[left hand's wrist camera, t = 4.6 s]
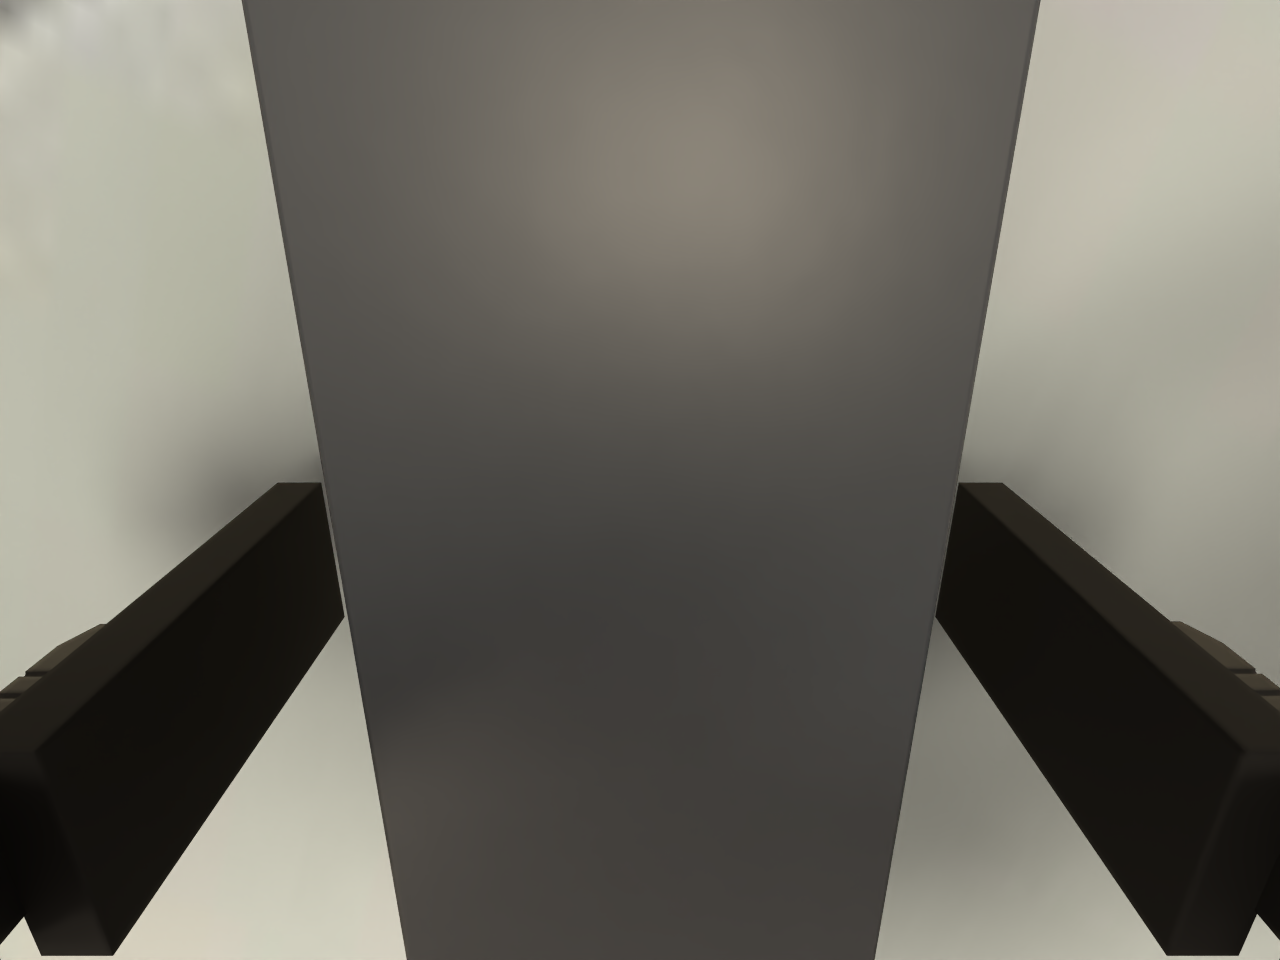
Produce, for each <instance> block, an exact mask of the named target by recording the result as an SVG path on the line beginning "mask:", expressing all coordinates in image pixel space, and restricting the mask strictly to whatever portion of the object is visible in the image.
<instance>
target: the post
mask: <svg viewBox="0 0 1280 960" xmlns="http://www.w3.org/2000/svg"><path fill="white" fill-rule="evenodd" d="M242 4H243V10H244V16H245V22H246V27H247V33H248V39H249V45H250V51H251V56H252V62H253V68H254V74H255V80H256V85H257V91H258V97H259V103H260V109H261V115H262V120H263V126H264V132H265V138H266V144H267V149H268V155H269V161H270V167H271V173H272V178H273V184H274V190H275V196H276V202H277V207H278V213H279V219H280V225H281V231H282V237H283V242H284V248H285V254H286V260H287V266H288V271H289V277H290V283H291V289H292V295H293V300H294V306H295V312H296V318H297V324H298V330H299V335H300V341H301V347H302V353H303V359H304V364H305V370H306V376H307V382H308V388H309V393H310V399H311V405H312V411H313V417H314V422H315V428H316V434H317V440H318V446H319V452H320V457H321V463H322V469H323V475H324V481H325V486H326V492H327V498H328V504H329V510H330V515H331V521H332V527H333V533H334V539H335V545H336V550H337V556H338V562H339V568H340V574H341V579H342V585H343V591H344V597H345V603H346V608H347V614H348V620H349V626H350V632H351V637H352V643H353V649H354V655H355V661H356V667H357V672H358V678H359V684H360V690H361V696H362V701H363V707H364V713H365V719H366V725H367V730H368V736H369V742H370V748H371V754H372V759H373V765H374V771H375V777H376V783H377V789H378V794H379V800H380V806H381V812H382V818H383V823H384V829H385V835H386V841H387V847H388V852H389V858H390V864H391V870H392V876H393V882H394V887H395V893H396V899H397V905H398V911H399V916H400V922H401V928H402V934H403V940H404V945H405V951H406V957H407V960H874V959H875V954H876V948H877V942H878V936H879V930H880V925H881V919H882V913H883V907H884V902H885V896H886V890H887V884H888V878H889V873H890V867H891V861H892V855H893V849H894V844H895V838H896V832H897V826H898V821H899V815H900V809H901V803H902V797H903V792H904V786H905V780H906V774H907V769H908V763H909V757H910V751H911V745H912V740H913V734H914V728H915V722H916V717H917V711H918V705H919V699H920V693H921V688H922V682H923V676H924V670H925V665H926V659H927V653H928V647H929V641H930V636H931V630H932V624H933V618H934V613H935V607H936V601H937V595H938V589H939V584H940V578H941V572H942V566H943V560H944V555H945V549H946V543H947V537H948V532H949V526H950V520H951V514H952V508H953V503H954V497H955V491H956V485H957V480H958V474H959V468H960V462H961V456H962V451H963V445H964V439H965V433H966V428H967V422H968V416H969V410H970V404H971V399H972V393H973V387H974V381H975V376H976V370H977V364H978V358H979V352H980V347H981V341H982V335H983V329H984V323H985V318H986V312H987V306H988V300H989V295H990V289H991V283H992V277H993V271H994V266H995V260H996V254H997V248H998V243H999V237H1000V231H1001V225H1002V219H1003V214H1004V208H1005V202H1006V196H1007V191H1008V185H1009V179H1010V173H1011V167H1012V162H1013V156H1014V150H1015V144H1016V139H1017V133H1018V127H1019V121H1020V115H1021V110H1022V104H1023V98H1024V92H1025V87H1026V81H1027V75H1028V69H1029V63H1030V58H1031V52H1032V46H1033V40H1034V34H1035V29H1036V23H1037V17H1038V11H1039V6H1040V0H242Z"/></svg>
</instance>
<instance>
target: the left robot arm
mask: <svg viewBox="0 0 1280 960" xmlns="http://www.w3.org/2000/svg"><path fill="white" fill-rule="evenodd" d="M344 617H345V616H344V611H343V605H342V599H341V593H340V588H339V582H338V576H337V571H336V565H335V559H334V553H333V548H332V542H331V536H330V530H329V525H328V519H327V513H326V508H325V502H324V496H323V490H322V485H321V483H277V484H276V485H275V486H273V487H272V488H271V489H270V490H268V491H267V492H266V493H265V494H264V495H262V496H261V497H260V498H259V499H258V500H256V501H255V502H254V503H253V504H251V505H250V506H249V507H248V508H247V509H245V510H244V511H243V512H242V513H241V514H239V515H238V516H237V517H236V518H234V519H233V520H232V521H231V522H230V523H228V524H227V525H226V526H225V527H224V528H222V529H221V530H220V531H219V532H217V533H216V534H215V535H214V536H213V537H211V538H210V539H209V540H208V541H207V542H205V543H204V544H203V545H202V546H201V547H199V548H198V549H197V550H196V551H194V552H193V553H192V554H191V555H190V556H188V557H187V558H186V559H185V560H184V561H182V562H181V563H180V564H179V565H177V566H176V567H175V568H174V569H173V570H171V571H170V572H169V573H168V574H167V575H165V576H164V577H163V578H162V579H160V580H159V581H158V582H157V583H156V584H154V585H153V586H152V587H151V588H150V589H148V590H147V591H146V592H145V593H143V594H142V595H141V596H140V597H139V598H137V599H136V600H135V601H134V602H133V603H131V604H130V605H129V606H128V607H126V608H125V609H124V610H123V611H122V612H120V613H119V614H118V615H117V616H116V617H114V618H113V619H112V620H111V621H110V622H108V623H107V624H100V625H98V626H96V627H94V628H92V629H90V630H88V631H86V632H84V633H82V634H80V635H78V636H76V637H74V638H72V639H70V640H68V641H66V642H64V643H63V644H61V645H59V646H57V647H56V648H55V649H53V650H52V651H51V652H50V653H48V654H47V655H46V656H45V657H43V658H42V659H41V660H39V661H38V662H37V663H36V664H34V665H33V666H32V667H31V668H29V669H28V670H27V671H26V674H25V676H24V677H18V678H17V679H16V680H14V681H13V682H12V683H10V684H9V685H8V686H7V687H5V688H4V689H3V690H2V691H0V944H1V943H2V942H3V941H4V940H5V938H6V937H7V936H8V935H9V934H10V932H11V931H12V930H13V929H14V928H15V927H16V925H17V924H18V923H19V922H20V921H21V919H22V918H23V917H25V920H26V922H27V924H28V926H29V929H30V931H31V933H32V936H33V938H34V940H35V942H36V945H37V947H38V949H39V951H40V954H41V956H113V955H114V954H115V952H116V951H117V949H118V948H119V946H120V945H121V943H122V942H123V940H124V939H125V938H126V936H127V935H128V933H129V932H130V930H131V929H132V927H133V926H134V924H135V923H136V921H137V920H138V918H139V917H140V916H141V914H142V913H143V911H144V910H145V908H146V907H147V905H148V904H149V902H150V901H151V899H152V898H153V897H154V895H155V894H156V892H157V891H158V889H159V888H160V886H161V885H162V883H163V882H164V880H165V879H166V877H167V876H168V875H169V873H170V872H171V870H172V869H173V867H174V866H175V864H176V863H177V861H178V860H179V858H180V857H181V856H182V854H183V853H184V851H185V850H186V848H187V847H188V845H189V844H190V842H191V841H192V839H193V838H194V836H195V835H196V834H197V832H198V831H199V829H200V828H201V826H202V825H203V823H204V822H205V820H206V819H207V817H208V816H209V815H210V813H211V812H212V810H213V809H214V807H215V806H216V804H217V803H218V801H219V800H220V798H221V797H222V796H223V794H224V793H225V791H226V790H227V788H228V787H229V785H230V784H231V782H232V781H233V779H234V778H235V776H236V775H237V774H238V772H239V771H240V769H241V768H242V766H243V765H244V763H245V762H246V760H247V759H248V757H249V756H250V755H251V753H252V752H253V750H254V749H255V747H256V746H257V744H258V743H259V741H260V740H261V738H262V737H263V735H264V734H265V733H266V731H267V730H268V728H269V727H270V725H271V724H272V722H273V721H274V719H275V718H276V716H277V715H278V714H279V712H280V711H281V709H282V708H283V706H284V705H285V703H286V702H287V700H288V699H289V697H290V696H291V694H292V693H293V692H294V690H295V689H296V687H297V686H298V684H299V683H300V681H301V680H302V678H303V677H304V675H305V674H306V673H307V671H308V670H309V668H310V667H311V665H312V664H313V662H314V661H315V659H316V658H317V656H318V655H319V653H320V652H321V651H322V649H323V648H324V646H325V645H326V643H327V642H328V640H329V639H330V637H331V636H332V634H333V633H334V632H335V630H336V629H337V627H338V626H339V624H340V623H341V621H342V620H343V618H344ZM935 617H936V618H937V620H938V621H939V623H940V624H941V626H942V627H943V629H944V630H945V632H946V633H947V634H948V636H949V637H950V639H951V640H952V642H953V643H954V645H955V646H956V648H957V649H958V651H959V652H960V654H961V655H962V656H963V658H964V659H965V661H966V662H967V664H968V665H969V667H970V668H971V670H972V671H973V673H974V674H975V675H976V677H977V678H978V680H979V681H980V683H981V684H982V686H983V687H984V689H985V690H986V692H987V693H988V695H989V696H990V697H991V699H992V700H993V702H994V703H995V705H996V706H997V708H998V709H999V711H1000V712H1001V714H1002V715H1003V716H1004V718H1005V719H1006V721H1007V722H1008V724H1009V725H1010V727H1011V728H1012V730H1013V731H1014V733H1015V734H1016V736H1017V737H1018V738H1019V740H1020V741H1021V743H1022V744H1023V746H1024V747H1025V749H1026V750H1027V752H1028V753H1029V755H1030V756H1031V757H1032V759H1033V760H1034V762H1035V763H1036V765H1037V766H1038V768H1039V769H1040V771H1041V772H1042V774H1043V775H1044V776H1045V778H1046V779H1047V781H1048V782H1049V784H1050V785H1051V787H1052V788H1053V790H1054V791H1055V793H1056V794H1057V796H1058V797H1059V798H1060V800H1061V801H1062V803H1063V804H1064V806H1065V807H1066V809H1067V810H1068V812H1069V813H1070V815H1071V816H1072V817H1073V819H1074V820H1075V822H1076V823H1077V825H1078V826H1079V828H1080V829H1081V831H1082V832H1083V834H1084V835H1085V837H1086V838H1087V839H1088V841H1089V842H1090V844H1091V845H1092V847H1093V848H1094V850H1095V851H1096V853H1097V854H1098V856H1099V857H1100V858H1101V860H1102V861H1103V863H1104V864H1105V866H1106V867H1107V869H1108V870H1109V872H1110V873H1111V875H1112V876H1113V878H1114V879H1115V880H1116V882H1117V883H1118V885H1119V886H1120V888H1121V889H1122V891H1123V892H1124V894H1125V895H1126V897H1127V898H1128V899H1129V901H1130V902H1131V904H1132V905H1133V907H1134V908H1135V910H1136V911H1137V913H1138V914H1139V916H1140V917H1141V919H1142V920H1143V921H1144V923H1145V924H1146V926H1147V927H1148V929H1149V930H1150V932H1151V933H1152V935H1153V936H1154V938H1155V939H1156V940H1157V942H1158V943H1159V945H1160V946H1161V948H1162V949H1163V951H1164V952H1165V954H1166V955H1167V956H1239V954H1240V951H1241V949H1242V947H1243V944H1244V942H1245V940H1246V938H1247V935H1248V933H1249V931H1250V929H1251V926H1252V924H1253V922H1254V920H1255V917H1256V915H1257V914H1258V915H1259V916H1260V917H1261V919H1262V920H1263V921H1264V922H1265V923H1266V925H1267V926H1268V927H1269V928H1270V929H1271V930H1272V932H1273V933H1274V934H1275V935H1276V936H1277V938H1278V939H1279V940H1280V688H1279V687H1278V686H1277V685H1275V684H1274V683H1273V682H1272V681H1270V680H1269V679H1268V678H1267V677H1265V676H1264V675H1263V674H1256V672H1255V668H1254V667H1253V666H1251V665H1250V664H1249V663H1247V662H1246V661H1245V660H1244V659H1242V658H1241V657H1240V656H1239V655H1237V654H1236V653H1235V652H1234V651H1232V650H1231V649H1230V648H1228V647H1227V646H1226V645H1225V644H1223V643H1222V642H1220V641H1218V640H1216V639H1214V638H1212V637H1210V636H1208V635H1206V634H1204V633H1202V632H1200V631H1198V630H1196V629H1194V628H1192V627H1190V626H1188V625H1186V624H1184V623H1182V622H1170V621H1169V620H1168V619H1167V618H1166V617H1164V616H1163V615H1162V614H1161V613H1160V612H1158V611H1157V610H1156V609H1155V608H1153V607H1152V606H1151V605H1150V604H1149V603H1147V602H1146V601H1145V600H1144V599H1143V598H1141V597H1140V596H1139V595H1138V594H1137V593H1135V592H1134V591H1133V590H1132V589H1130V588H1129V587H1128V586H1127V585H1126V584H1124V583H1123V582H1122V581H1121V580H1120V579H1118V578H1117V577H1116V576H1115V575H1113V574H1112V573H1111V572H1110V571H1109V570H1107V569H1106V568H1105V567H1104V566H1103V565H1101V564H1100V563H1099V562H1098V561H1096V560H1095V559H1094V558H1093V557H1092V556H1090V555H1089V554H1088V553H1087V552H1086V551H1084V550H1083V549H1082V548H1081V547H1079V546H1078V545H1077V544H1076V543H1075V542H1073V541H1072V540H1071V539H1070V538H1069V537H1067V536H1066V535H1065V534H1064V533H1062V532H1061V531H1060V530H1059V529H1058V528H1056V527H1055V526H1054V525H1053V524H1052V523H1050V522H1049V521H1048V520H1047V519H1046V518H1044V517H1043V516H1042V515H1041V514H1039V513H1038V512H1037V511H1036V510H1035V509H1033V508H1032V507H1031V506H1030V505H1029V504H1027V503H1026V502H1025V501H1024V500H1022V499H1021V498H1020V497H1019V496H1018V495H1016V494H1015V493H1014V492H1013V491H1012V490H1010V489H1009V488H1008V487H1007V486H1005V485H1004V484H1003V483H959V485H958V490H957V496H956V502H955V507H954V513H953V519H952V525H951V530H950V536H949V542H948V548H947V553H946V559H945V565H944V570H943V576H942V582H941V588H940V593H939V599H938V605H937V611H936V616H935ZM0 960H1V959H0ZM1279 960H1280V959H1279Z"/></svg>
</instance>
